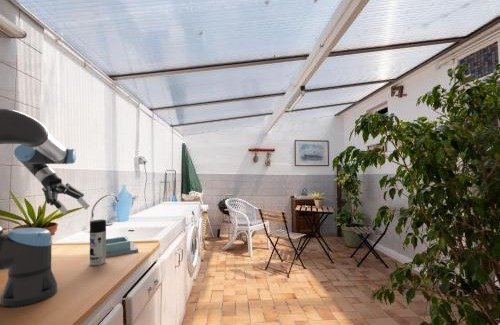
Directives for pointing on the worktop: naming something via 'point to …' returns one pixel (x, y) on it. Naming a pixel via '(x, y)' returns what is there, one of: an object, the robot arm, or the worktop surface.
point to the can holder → (119, 246)
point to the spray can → (97, 242)
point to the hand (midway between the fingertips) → (77, 210)
